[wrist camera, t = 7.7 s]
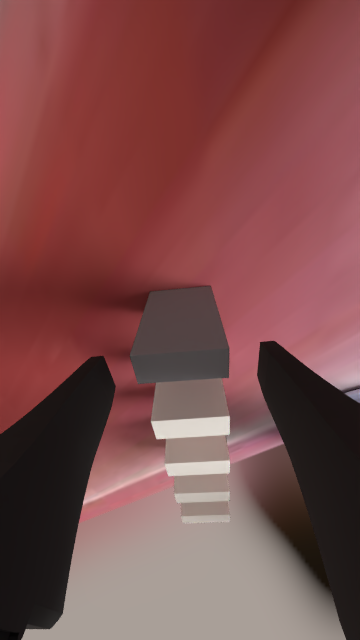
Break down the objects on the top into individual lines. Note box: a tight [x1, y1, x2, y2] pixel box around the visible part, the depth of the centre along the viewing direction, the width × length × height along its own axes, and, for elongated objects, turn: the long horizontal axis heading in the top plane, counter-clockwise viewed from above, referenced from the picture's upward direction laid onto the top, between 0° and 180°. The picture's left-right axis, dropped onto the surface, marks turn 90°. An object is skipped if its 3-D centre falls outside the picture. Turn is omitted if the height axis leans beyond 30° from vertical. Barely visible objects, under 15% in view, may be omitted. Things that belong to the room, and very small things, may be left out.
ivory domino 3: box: [174, 473, 230, 503], centre depth 20 cm, size 2×4×7 cm, turn 97°
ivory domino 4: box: [181, 501, 230, 523], centre depth 23 cm, size 2×4×7 cm, turn 97°
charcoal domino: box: [130, 286, 229, 384], centre depth 13 cm, size 2×4×7 cm, turn 96°
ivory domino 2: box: [165, 435, 230, 476], centre depth 18 cm, size 2×4×7 cm, turn 97°
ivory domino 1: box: [151, 378, 230, 439], centre depth 15 cm, size 2×4×7 cm, turn 97°
